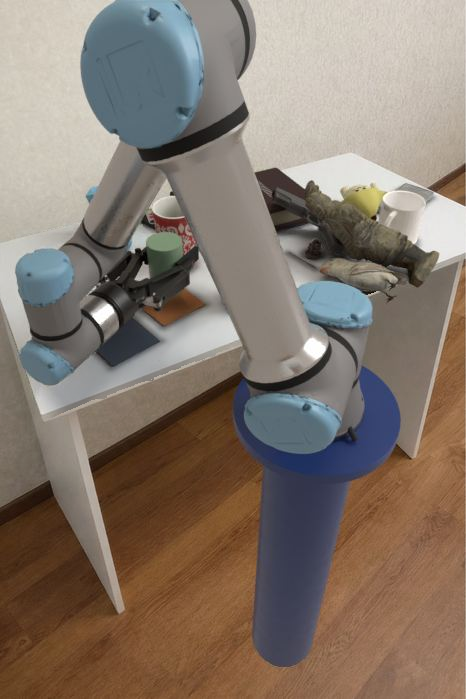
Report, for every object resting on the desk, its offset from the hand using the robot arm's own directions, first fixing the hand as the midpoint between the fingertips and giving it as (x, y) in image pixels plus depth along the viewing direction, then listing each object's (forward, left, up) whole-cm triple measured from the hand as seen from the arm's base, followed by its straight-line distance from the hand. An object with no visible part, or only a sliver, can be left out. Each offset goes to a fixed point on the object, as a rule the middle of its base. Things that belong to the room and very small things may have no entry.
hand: (180, 247), depth 111 cm
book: (+14, -28, -10) cm, 33 cm away
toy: (+2, -54, -8) cm, 54 cm away
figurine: (-8, -28, -10) cm, 31 cm away
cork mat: (-2, +5, -10) cm, 11 cm away
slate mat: (-5, +18, -10) cm, 21 cm away
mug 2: (-16, -46, -10) cm, 50 cm away
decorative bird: (-30, -26, -7) cm, 41 cm away
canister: (-2, +5, -6) cm, 8 cm away
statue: (-30, -39, -8) cm, 50 cm away
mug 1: (+10, -5, -10) cm, 15 cm away
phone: (-7, -63, -10) cm, 64 cm away
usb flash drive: (+27, -12, -9) cm, 30 cm away
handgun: (-9, -27, -5) cm, 29 cm away
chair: (+26, 0, -10) cm, 28 cm away
